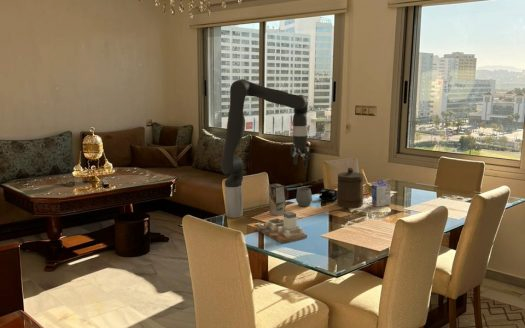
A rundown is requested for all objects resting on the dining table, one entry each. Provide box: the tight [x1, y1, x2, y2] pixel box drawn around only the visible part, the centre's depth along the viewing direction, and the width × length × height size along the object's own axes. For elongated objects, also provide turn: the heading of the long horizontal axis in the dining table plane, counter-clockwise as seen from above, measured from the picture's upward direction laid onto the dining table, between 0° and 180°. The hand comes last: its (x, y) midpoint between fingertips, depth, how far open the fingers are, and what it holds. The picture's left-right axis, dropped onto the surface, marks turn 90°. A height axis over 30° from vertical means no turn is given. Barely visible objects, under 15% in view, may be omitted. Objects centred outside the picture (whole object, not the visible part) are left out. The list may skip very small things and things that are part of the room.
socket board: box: [255, 217, 308, 244], centre depth 236 cm, size 24×14×4 cm, turn 30°
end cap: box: [318, 188, 337, 203], centre depth 294 cm, size 10×7×7 cm
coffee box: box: [268, 183, 287, 217], centre depth 269 cm, size 9×6×16 cm
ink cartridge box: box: [371, 179, 392, 208], centre depth 280 cm, size 10×6×14 cm, turn 112°
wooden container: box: [336, 167, 364, 209], centre depth 282 cm, size 15×15×22 cm
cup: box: [295, 187, 313, 208], centre depth 283 cm, size 10×9×10 cm
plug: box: [282, 211, 297, 230], centre depth 231 cm, size 4×4×10 cm
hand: (300, 165), depth 249 cm, fingers open, 8 cm apart
